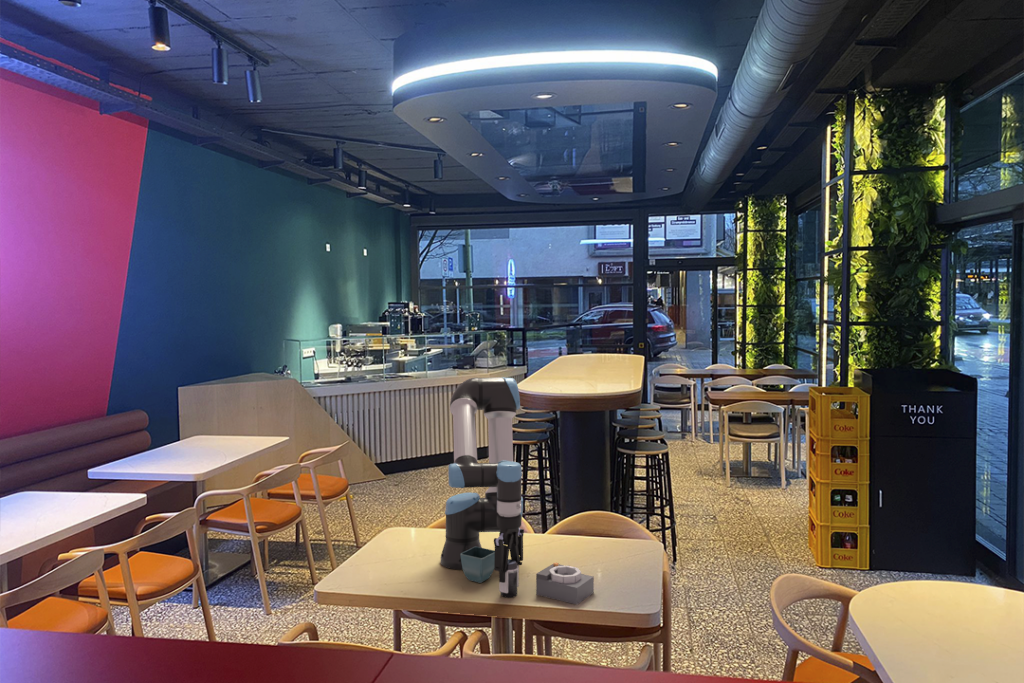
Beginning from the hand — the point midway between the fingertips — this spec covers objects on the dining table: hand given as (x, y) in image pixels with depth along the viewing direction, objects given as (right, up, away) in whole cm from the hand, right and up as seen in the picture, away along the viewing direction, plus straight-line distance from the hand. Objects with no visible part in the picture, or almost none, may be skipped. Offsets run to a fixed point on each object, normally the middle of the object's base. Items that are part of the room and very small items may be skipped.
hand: (509, 588), depth 217 cm
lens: (0, -2, 0) cm, 2 cm away
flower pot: (-10, -2, +12) cm, 16 cm away
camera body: (+17, -2, +1) cm, 17 cm away
